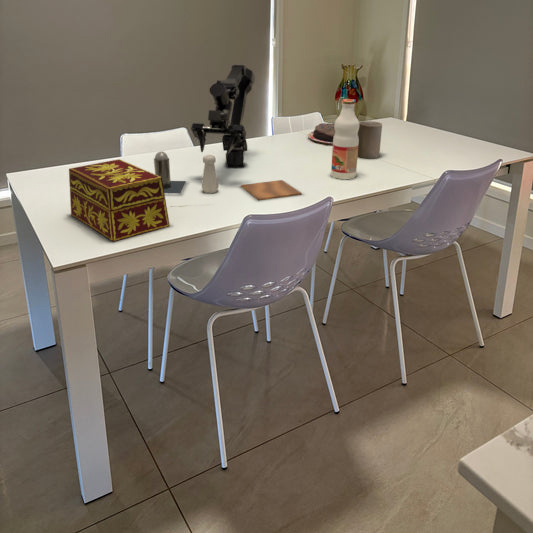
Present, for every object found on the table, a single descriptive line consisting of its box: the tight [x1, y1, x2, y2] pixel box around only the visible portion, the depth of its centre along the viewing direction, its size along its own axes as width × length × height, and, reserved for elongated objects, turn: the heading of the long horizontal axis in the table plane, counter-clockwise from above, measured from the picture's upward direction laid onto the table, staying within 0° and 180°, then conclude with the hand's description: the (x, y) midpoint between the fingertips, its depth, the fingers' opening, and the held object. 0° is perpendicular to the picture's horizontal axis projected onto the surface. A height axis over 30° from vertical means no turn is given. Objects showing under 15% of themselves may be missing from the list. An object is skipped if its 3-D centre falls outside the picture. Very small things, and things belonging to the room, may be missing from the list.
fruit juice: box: [330, 98, 360, 180], centre depth 216 cm, size 9×9×28 cm
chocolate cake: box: [307, 122, 335, 146], centre depth 274 cm, size 28×28×7 cm
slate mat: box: [164, 180, 187, 195], centre depth 206 cm, size 14×14×1 cm
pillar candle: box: [357, 119, 383, 160], centre depth 245 cm, size 10×10×15 cm
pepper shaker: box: [153, 151, 172, 189], centre depth 204 cm, size 5×5×12 cm
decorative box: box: [68, 158, 170, 242], centre depth 175 cm, size 28×19×15 cm
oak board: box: [240, 179, 302, 201], centre depth 205 cm, size 16×16×1 cm
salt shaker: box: [201, 154, 219, 194], centre depth 200 cm, size 6×6×13 cm
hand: (214, 152), depth 203 cm, fingers open, 9 cm apart
